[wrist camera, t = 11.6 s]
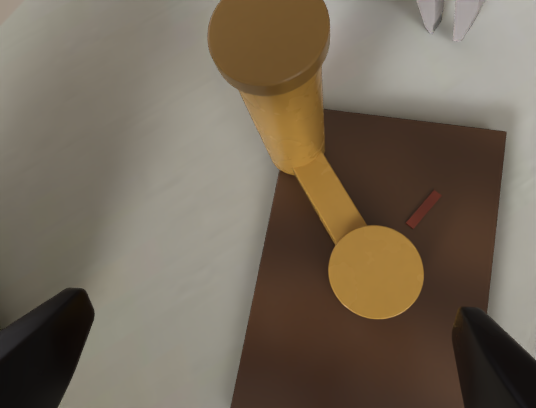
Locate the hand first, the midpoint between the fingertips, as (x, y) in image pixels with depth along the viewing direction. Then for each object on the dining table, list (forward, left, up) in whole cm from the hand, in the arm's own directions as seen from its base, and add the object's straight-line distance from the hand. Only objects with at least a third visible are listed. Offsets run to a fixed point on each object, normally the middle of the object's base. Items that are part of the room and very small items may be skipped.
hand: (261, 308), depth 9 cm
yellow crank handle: (+5, -1, -12) cm, 13 cm away
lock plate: (+2, -3, -13) cm, 14 cm away
